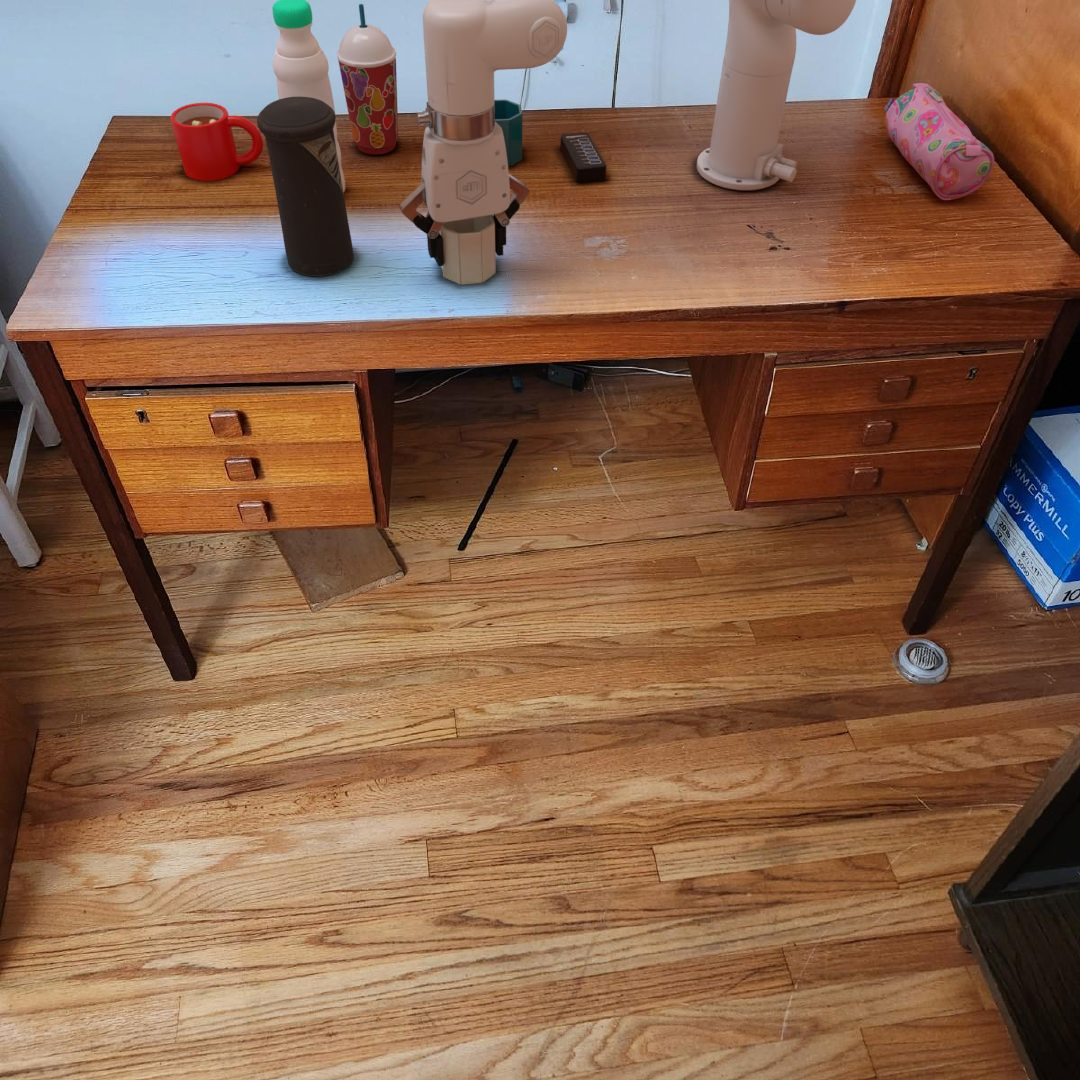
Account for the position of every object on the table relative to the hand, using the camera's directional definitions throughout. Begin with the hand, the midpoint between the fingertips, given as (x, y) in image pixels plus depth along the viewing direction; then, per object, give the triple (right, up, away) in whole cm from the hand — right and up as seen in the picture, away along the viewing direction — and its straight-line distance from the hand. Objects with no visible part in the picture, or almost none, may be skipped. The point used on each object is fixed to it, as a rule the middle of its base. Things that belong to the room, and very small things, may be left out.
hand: (467, 254), depth 123 cm
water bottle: (-22, +13, +14) cm, 29 cm away
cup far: (+2, +21, +22) cm, 30 cm away
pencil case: (+68, +19, +22) cm, 74 cm away
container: (-19, 0, +2) cm, 20 cm away
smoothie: (-16, +23, +24) cm, 37 cm away
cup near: (0, 0, +2) cm, 2 cm away
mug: (-37, +18, +19) cm, 45 cm away
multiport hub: (+16, +20, +21) cm, 33 cm away
